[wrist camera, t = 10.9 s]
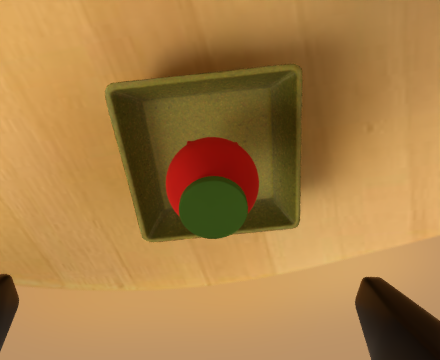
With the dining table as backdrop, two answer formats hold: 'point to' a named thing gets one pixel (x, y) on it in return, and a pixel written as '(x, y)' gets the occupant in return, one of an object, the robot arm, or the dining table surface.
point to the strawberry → (212, 186)
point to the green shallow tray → (211, 127)
